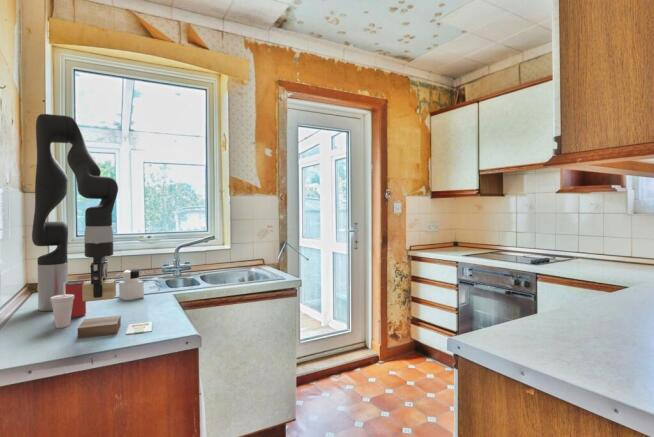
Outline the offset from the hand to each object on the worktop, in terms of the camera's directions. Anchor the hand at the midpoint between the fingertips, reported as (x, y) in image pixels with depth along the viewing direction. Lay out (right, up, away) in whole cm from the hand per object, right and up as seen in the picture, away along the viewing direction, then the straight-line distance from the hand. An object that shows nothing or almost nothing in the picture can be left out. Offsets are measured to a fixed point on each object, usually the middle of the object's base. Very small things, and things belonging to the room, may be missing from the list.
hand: (99, 294), depth 113 cm
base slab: (0, -11, 0) cm, 11 cm away
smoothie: (-15, -11, +5) cm, 20 cm away
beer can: (-19, -11, +17) cm, 28 cm away
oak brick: (0, -1, 0) cm, 1 cm away
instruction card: (+11, -11, +3) cm, 16 cm away
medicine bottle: (-14, -11, +44) cm, 48 cm away
